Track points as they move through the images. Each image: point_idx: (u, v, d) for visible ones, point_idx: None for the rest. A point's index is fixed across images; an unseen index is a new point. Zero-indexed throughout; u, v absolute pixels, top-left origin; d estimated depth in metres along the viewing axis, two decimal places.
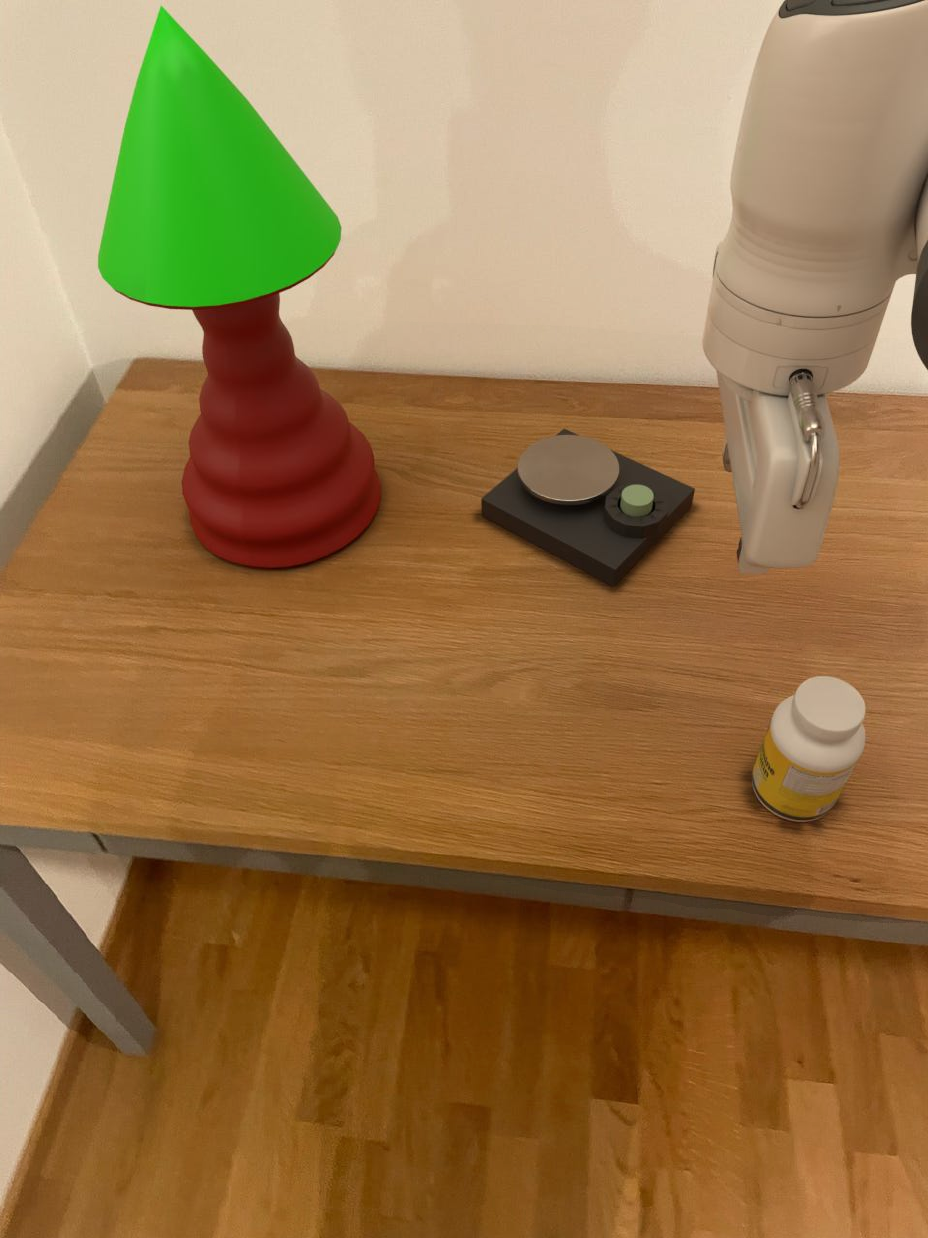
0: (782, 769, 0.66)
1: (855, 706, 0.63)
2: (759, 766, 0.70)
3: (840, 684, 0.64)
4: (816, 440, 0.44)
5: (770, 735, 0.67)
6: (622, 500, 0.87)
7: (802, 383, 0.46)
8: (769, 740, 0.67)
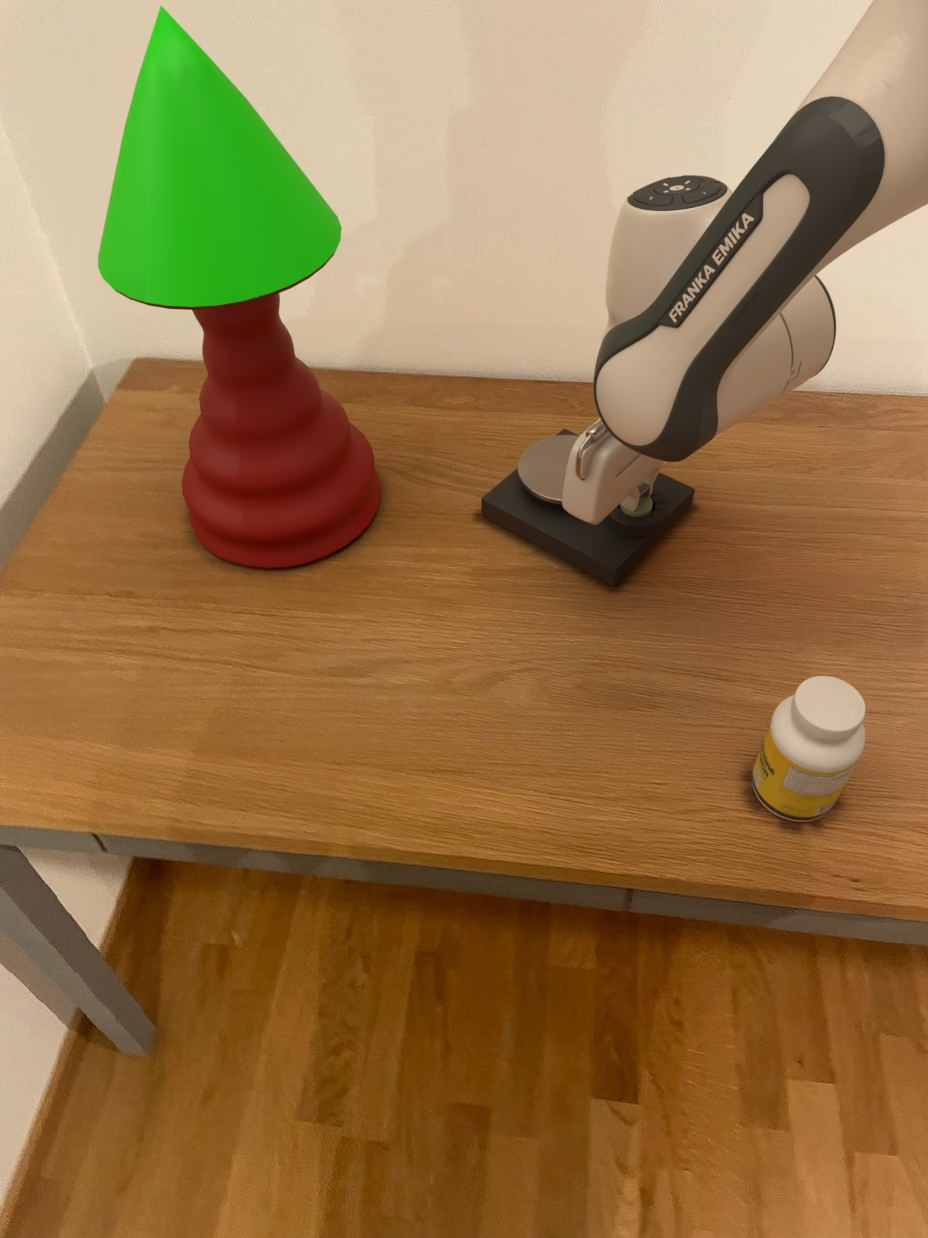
0: (782, 769, 0.66)
1: (855, 706, 0.63)
2: (759, 766, 0.70)
3: (840, 684, 0.64)
4: (587, 438, 0.73)
5: (770, 735, 0.67)
6: (621, 507, 0.88)
7: None
8: (769, 740, 0.67)
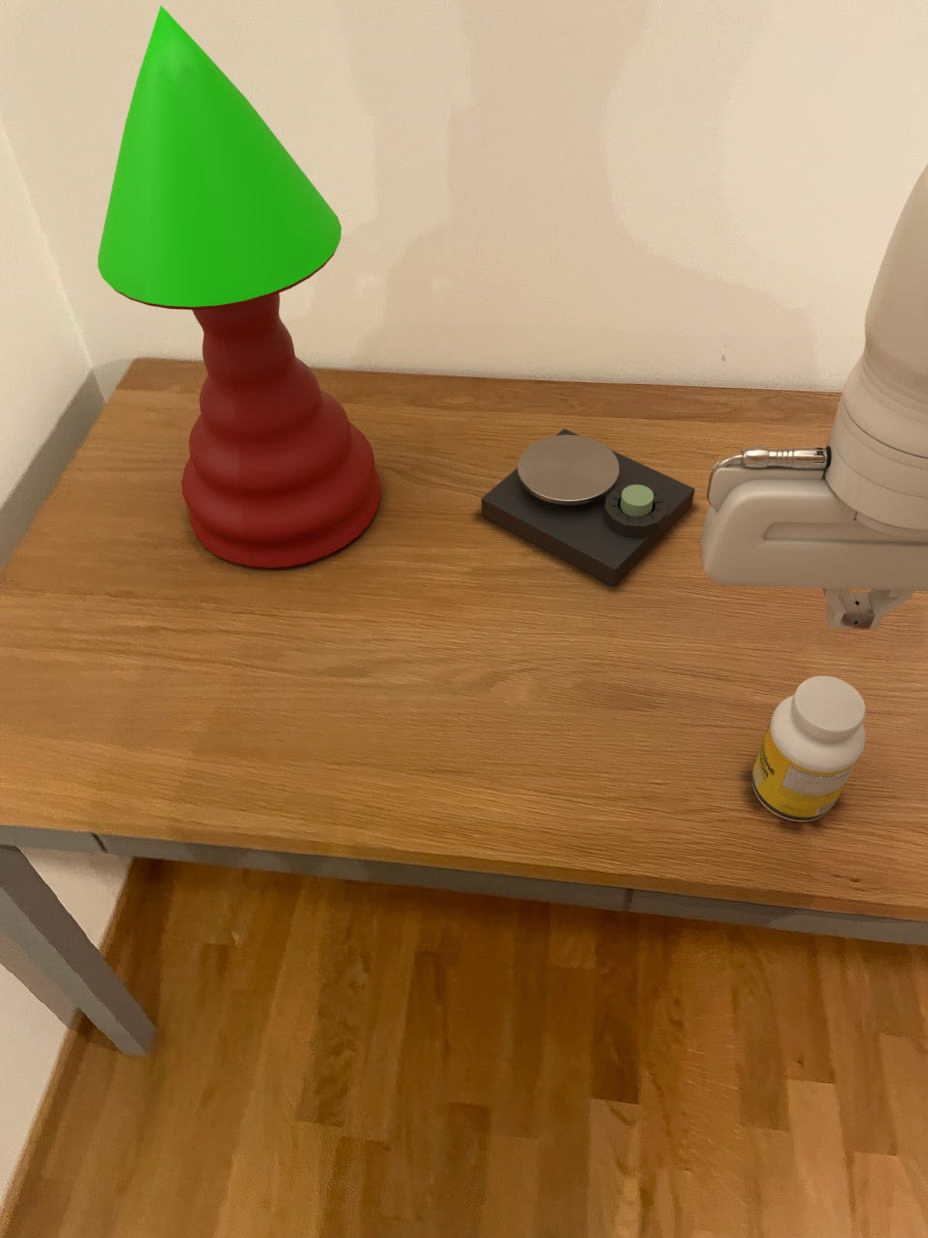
0: (782, 769, 0.66)
1: (855, 706, 0.63)
2: (759, 766, 0.70)
3: (840, 684, 0.64)
4: (733, 456, 0.50)
5: (770, 735, 0.67)
6: (622, 500, 0.87)
7: (808, 448, 0.50)
8: (769, 740, 0.67)
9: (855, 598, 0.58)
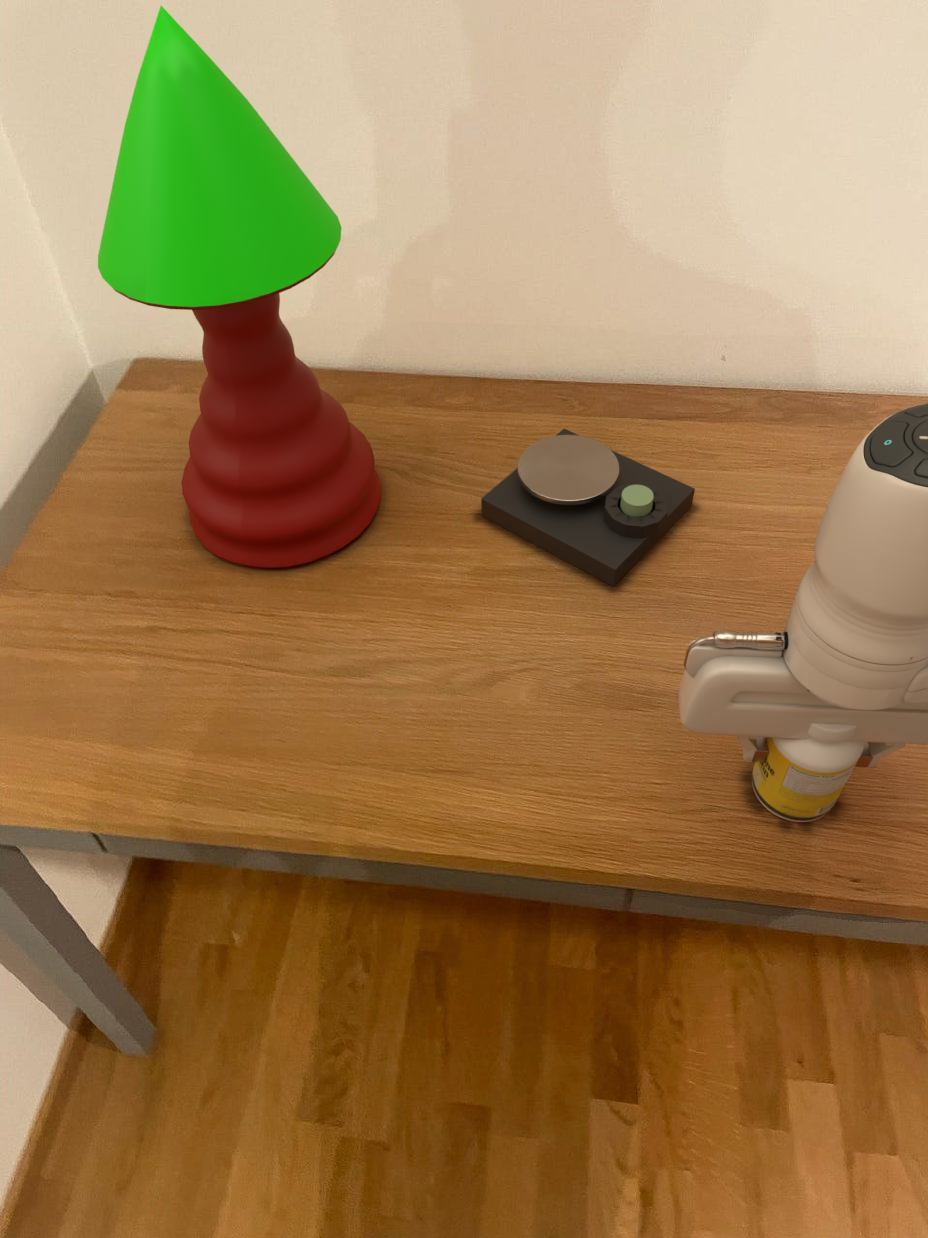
0: (782, 769, 0.66)
1: None
2: (759, 766, 0.70)
3: None
4: (706, 638, 0.59)
5: None
6: (622, 500, 0.87)
7: (769, 633, 0.59)
8: (769, 740, 0.67)
9: (766, 737, 0.68)
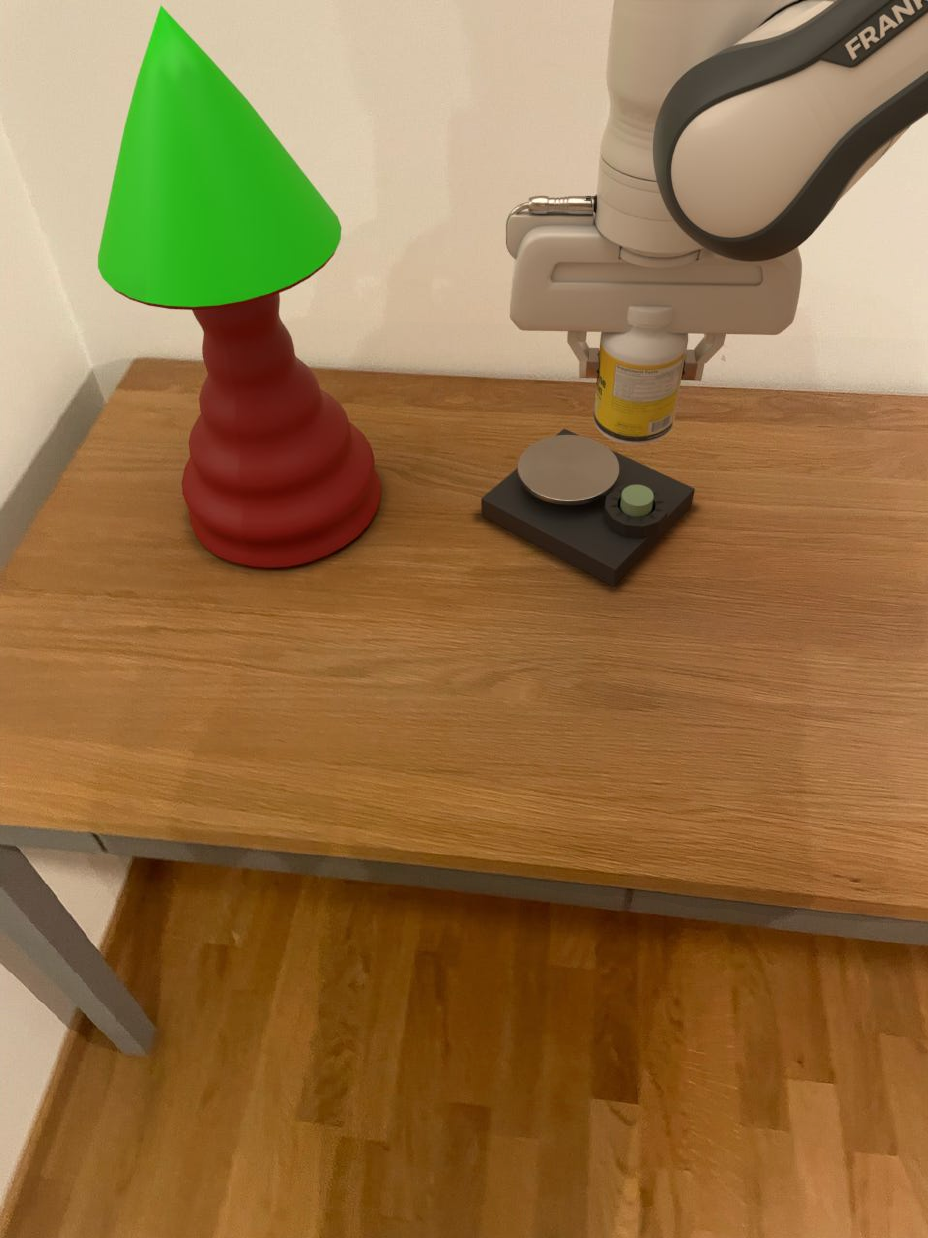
0: (610, 374, 0.69)
1: None
2: (596, 390, 0.72)
3: None
4: None
5: (600, 343, 0.69)
6: (622, 500, 0.87)
7: (580, 196, 0.62)
8: (600, 350, 0.70)
9: (598, 351, 0.71)
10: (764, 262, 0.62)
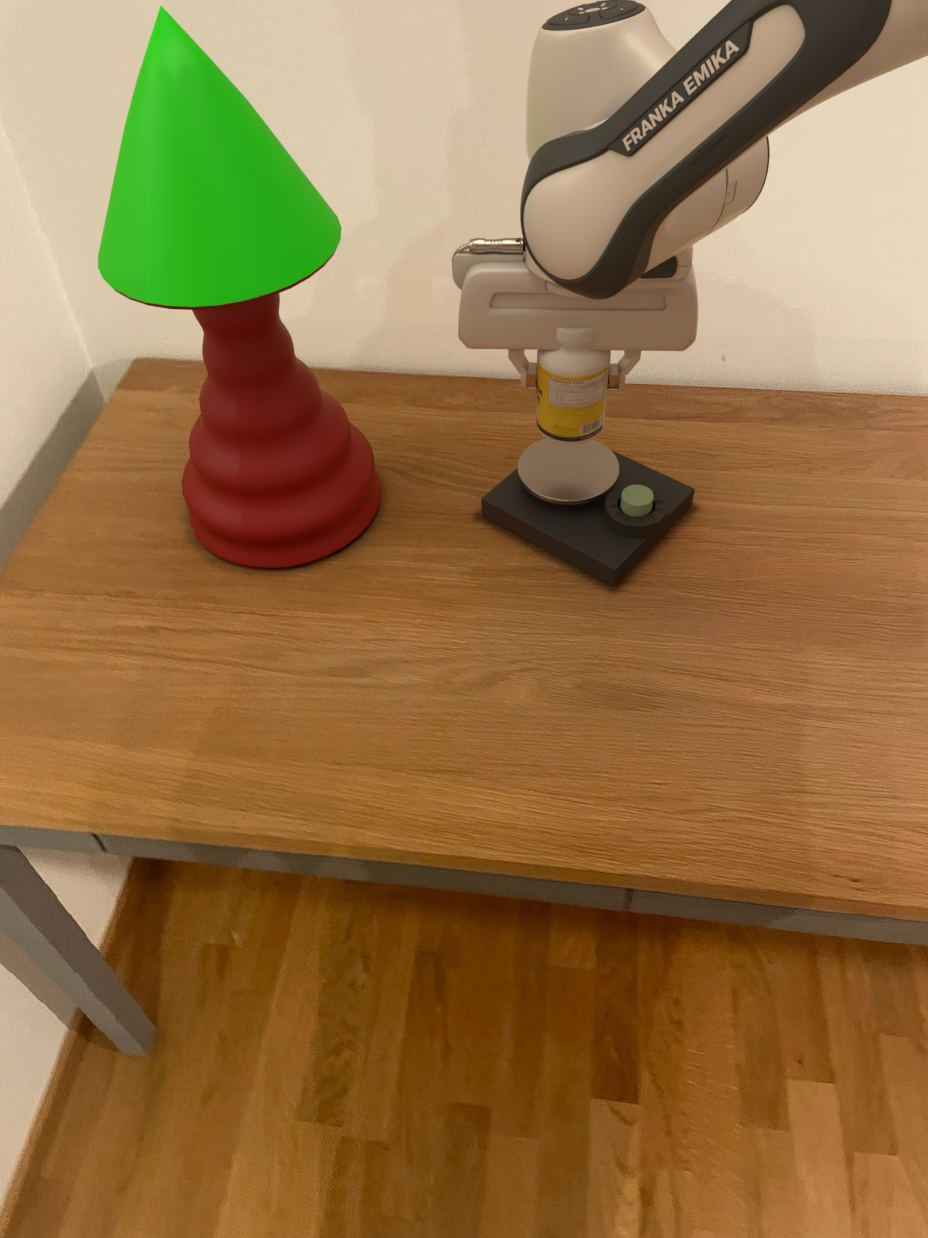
0: (545, 384, 0.81)
1: None
2: (536, 398, 0.85)
3: None
4: (464, 244, 0.75)
5: (537, 358, 0.82)
6: (622, 500, 0.87)
7: (512, 238, 0.74)
8: (537, 364, 0.82)
9: None
10: (666, 291, 0.74)
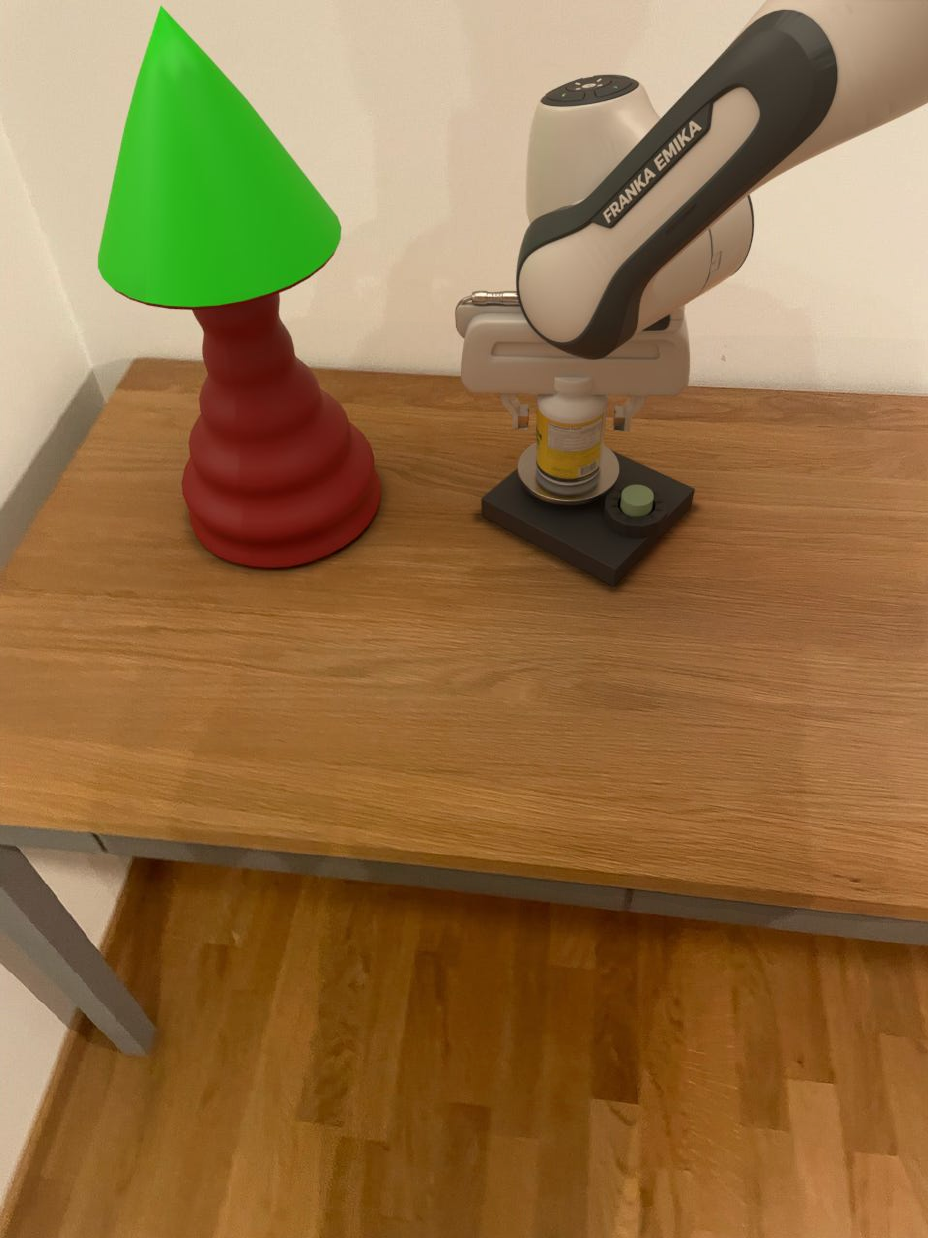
0: (545, 429, 0.85)
1: None
2: (536, 440, 0.89)
3: None
4: None
5: None
6: (622, 500, 0.87)
7: None
8: None
9: (528, 407, 0.87)
10: (659, 342, 0.78)
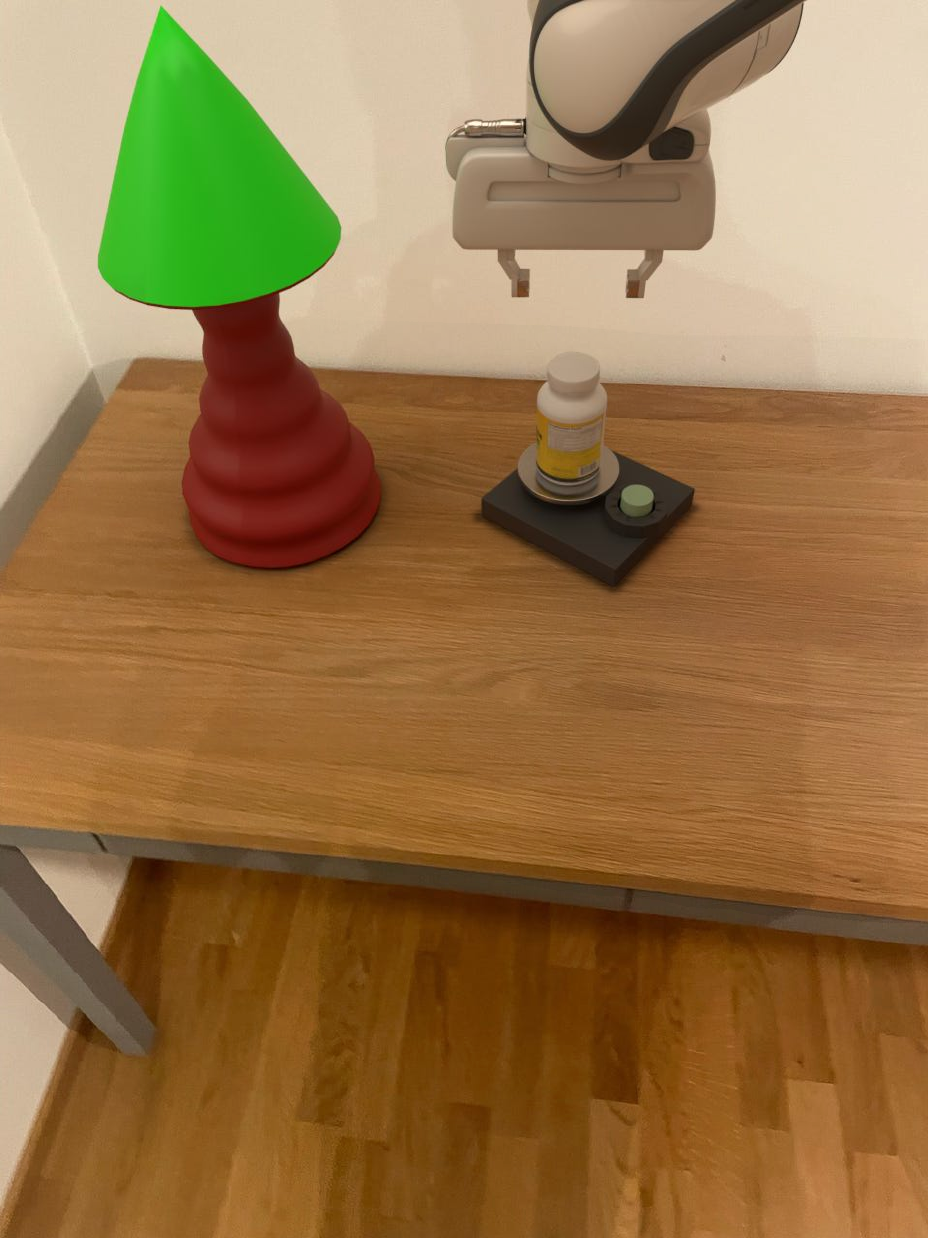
0: (545, 429, 0.85)
1: (591, 368, 0.82)
2: (536, 440, 0.89)
3: (584, 356, 0.83)
4: (458, 127, 0.68)
5: None
6: (622, 500, 0.87)
7: None
8: None
9: (529, 271, 0.76)
10: (680, 178, 0.67)
